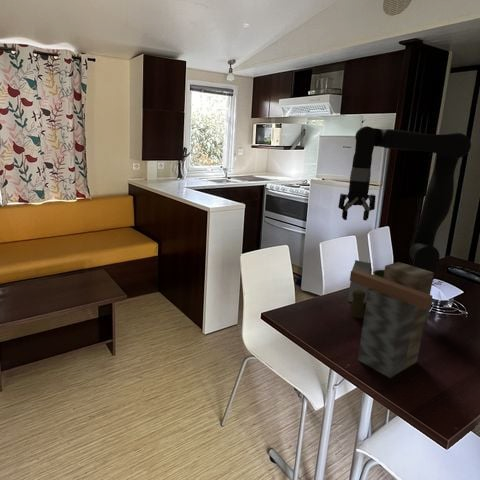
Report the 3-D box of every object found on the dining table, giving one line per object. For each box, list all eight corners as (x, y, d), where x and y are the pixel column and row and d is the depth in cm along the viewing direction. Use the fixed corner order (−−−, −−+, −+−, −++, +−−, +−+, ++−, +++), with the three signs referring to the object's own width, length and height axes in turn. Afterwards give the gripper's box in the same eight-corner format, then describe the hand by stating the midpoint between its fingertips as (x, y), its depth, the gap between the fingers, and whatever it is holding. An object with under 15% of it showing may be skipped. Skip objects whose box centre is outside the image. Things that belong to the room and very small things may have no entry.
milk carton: (363, 305, 171) (369, 265, 166) (347, 301, 174) (352, 262, 169) (367, 300, 176) (373, 261, 171) (352, 296, 180) (357, 258, 175)
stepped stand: (357, 360, 128) (370, 270, 119) (384, 346, 137) (398, 261, 129) (390, 378, 119) (406, 282, 110) (416, 362, 128) (433, 272, 120)
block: (349, 280, 129) (350, 271, 128) (355, 278, 131) (357, 269, 130) (424, 309, 109) (426, 298, 108) (430, 306, 111) (432, 295, 111)
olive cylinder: (364, 319, 158) (367, 294, 155) (349, 317, 159) (352, 292, 156) (362, 312, 163) (366, 288, 160) (348, 311, 164) (351, 287, 162)
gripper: (346, 180, 145) (341, 221, 149) (381, 181, 147) (375, 222, 151) (339, 178, 152) (334, 217, 156) (372, 179, 154) (367, 218, 158)
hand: (354, 220), depth 154 cm, fingers open, 8 cm apart
